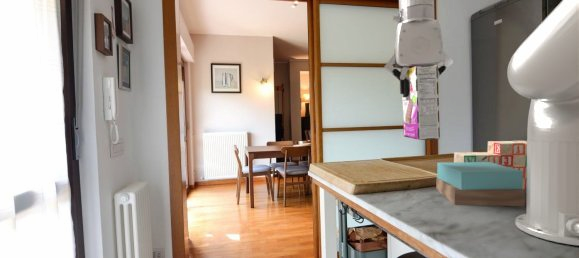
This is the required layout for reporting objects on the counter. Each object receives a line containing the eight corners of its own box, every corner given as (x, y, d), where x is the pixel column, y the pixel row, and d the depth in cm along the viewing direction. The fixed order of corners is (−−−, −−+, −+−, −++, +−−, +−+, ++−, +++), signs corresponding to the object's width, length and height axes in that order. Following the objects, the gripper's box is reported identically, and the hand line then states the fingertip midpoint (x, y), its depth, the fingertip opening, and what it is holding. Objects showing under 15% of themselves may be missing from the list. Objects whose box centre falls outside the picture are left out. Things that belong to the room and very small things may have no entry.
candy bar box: (402, 137, 79) (400, 72, 79) (422, 136, 79) (420, 71, 78) (417, 140, 68) (415, 64, 67) (441, 139, 68) (439, 63, 67)
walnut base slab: (524, 209, 67) (524, 190, 67) (454, 207, 70) (454, 189, 69) (493, 192, 81) (493, 177, 81) (436, 191, 83) (436, 176, 83)
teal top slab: (522, 189, 68) (522, 171, 68) (461, 189, 69) (461, 172, 69) (488, 177, 81) (488, 161, 81) (437, 177, 82) (437, 162, 82)
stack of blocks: (463, 190, 82) (463, 143, 82) (453, 184, 89) (453, 141, 88) (551, 190, 80) (551, 142, 79) (534, 184, 86) (535, 140, 86)
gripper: (380, 17, 70) (382, 97, 71) (462, 9, 67) (464, 93, 68) (377, 26, 78) (379, 99, 78) (450, 19, 75) (452, 95, 75)
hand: (418, 95), depth 73 cm, fingers closed on candy bar box, 5 cm apart
